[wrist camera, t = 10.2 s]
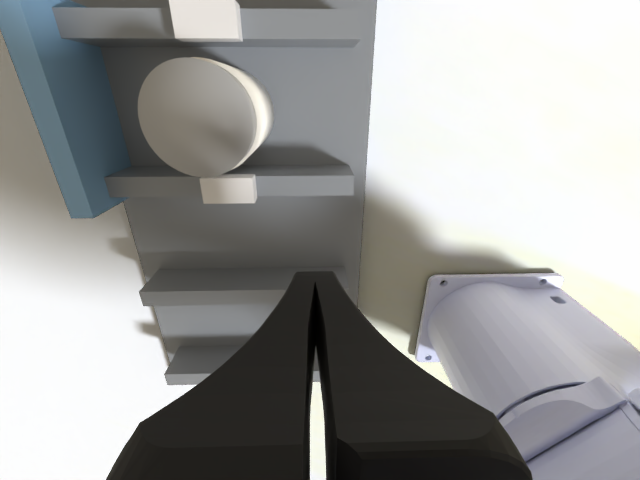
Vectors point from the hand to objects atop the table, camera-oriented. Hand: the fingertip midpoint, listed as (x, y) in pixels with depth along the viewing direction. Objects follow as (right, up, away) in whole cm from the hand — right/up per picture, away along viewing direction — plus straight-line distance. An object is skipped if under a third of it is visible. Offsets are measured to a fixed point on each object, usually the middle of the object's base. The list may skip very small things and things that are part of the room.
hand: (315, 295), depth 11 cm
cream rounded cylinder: (-4, +9, +5) cm, 11 cm away
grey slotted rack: (-4, +3, +9) cm, 10 cm away
